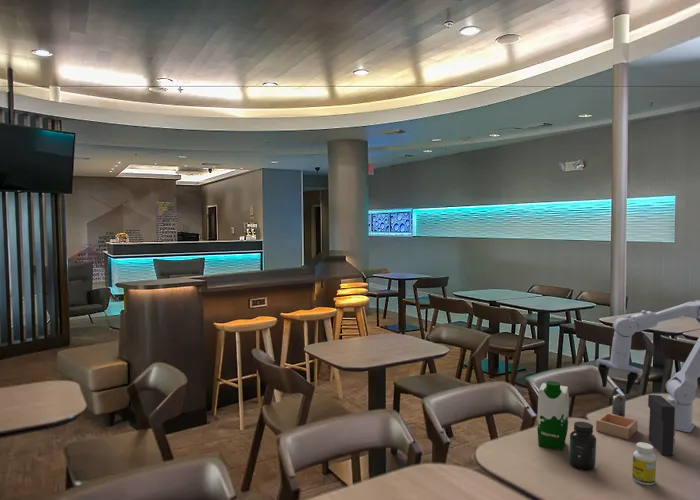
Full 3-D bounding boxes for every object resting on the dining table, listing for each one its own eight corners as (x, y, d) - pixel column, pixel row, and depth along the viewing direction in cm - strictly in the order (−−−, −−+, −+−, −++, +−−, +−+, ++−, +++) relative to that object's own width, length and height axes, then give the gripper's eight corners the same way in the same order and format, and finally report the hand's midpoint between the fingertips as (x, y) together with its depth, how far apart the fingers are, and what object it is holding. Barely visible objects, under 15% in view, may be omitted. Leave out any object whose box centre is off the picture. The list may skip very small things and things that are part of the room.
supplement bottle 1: (564, 464, 147) (565, 423, 146) (576, 457, 151) (578, 418, 150) (587, 473, 141) (589, 431, 141) (599, 466, 145) (601, 425, 145)
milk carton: (535, 446, 158) (537, 383, 157) (539, 435, 166) (541, 375, 165) (565, 452, 154) (567, 387, 153) (568, 441, 162) (570, 379, 161)
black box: (675, 456, 152) (678, 407, 151) (659, 455, 153) (662, 406, 152) (661, 441, 163) (663, 395, 162) (646, 440, 164) (648, 394, 163)
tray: (605, 422, 178) (606, 412, 178) (637, 430, 171) (637, 420, 171) (596, 430, 171) (596, 420, 171) (628, 439, 164) (628, 428, 164)
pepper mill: (614, 415, 185) (615, 392, 184) (626, 418, 182) (627, 394, 181) (610, 418, 182) (611, 394, 181) (622, 421, 179) (623, 397, 178)
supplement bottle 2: (627, 476, 140) (629, 441, 140) (646, 475, 141) (647, 440, 140) (640, 486, 135) (642, 450, 134) (659, 485, 135) (661, 449, 135)
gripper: (595, 348, 181) (590, 385, 182) (640, 359, 171) (635, 398, 172) (601, 345, 186) (597, 382, 187) (646, 356, 176) (641, 394, 177)
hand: (615, 389), depth 180 cm, fingers open, 7 cm apart
